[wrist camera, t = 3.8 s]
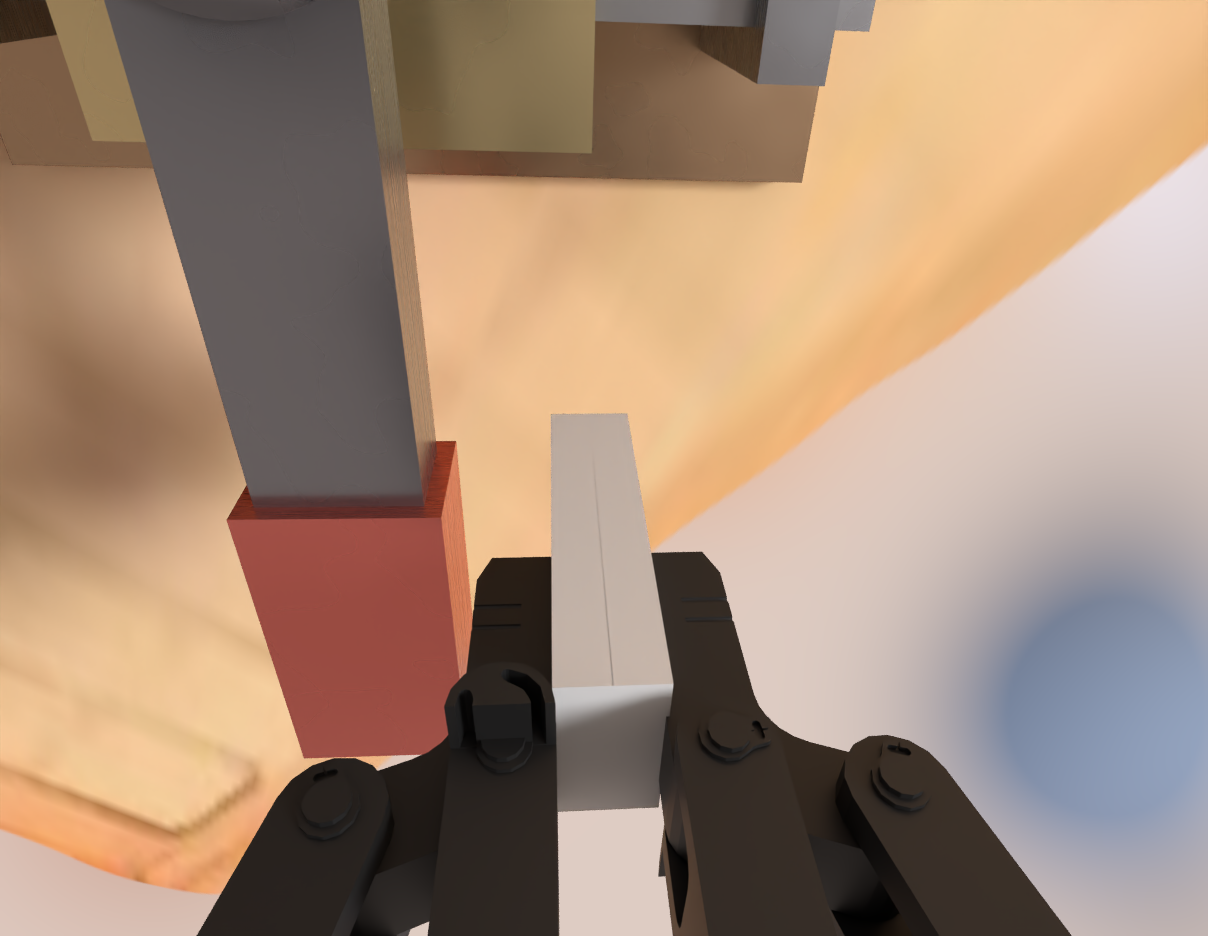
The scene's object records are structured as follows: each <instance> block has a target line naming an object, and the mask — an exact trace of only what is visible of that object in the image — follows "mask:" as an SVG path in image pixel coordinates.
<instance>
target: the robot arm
mask: <svg viewBox="0 0 1208 936" xmlns="http://www.w3.org/2000/svg"><path fill="white" fill-rule="evenodd" d="M551 554H552V557H521V558H492V559H491V560H490V562H489V563H488V565H487V566H486V568H485V569H484V571H483V572H482V574H481V575H480V576H479V578H478V579H477V584H476V593H475V602H474V610H473V619H472V631H471V636H470V645H469V654H468V662H467V671H466V674H464V675H463V676H462V677H461V678H460V679H459V680H458V682H457V683H456V684H455V685H454V686H453V687H452V688H451V689H450V692H449V694H448V697H447V700H446V702H445V705H444V710H445V717H446V723H447V730H448V736H447V737H446V738H445V739H444V740H443V741H442V742H441V743H440V744H439V745H437V746H436V747H434V748H433V749H432V750H430V751H429V752H427V753H425V754H423V755H421V756H418V757H416V758H414V759H412V760H409V761H406V762H403V763H400V764H397V765H394V766H391V767H388V768H385V769H382V770H379V771H377V770H376V769H375V767H374V766H373V765H370V764H368V763H366V762H363V761H361V760H358V759H356V758H334V759H331V760H328V761H325V762H322V763H318V764H315V765H312V766H311V767H309V768H308V769H306V770H305V771H304V772H302V773H301V774H299V775H298V776H296V777H295V778H293V779H292V780H291V781H290V782H289V784H288V785H287V786H286V787H285V789H284V790H283V791H282V792H281V794H280V795H279V796H278V797H277V799H276V800H275V802H274V804H273V805H272V807H271V809H270V811H269V812H268V814H267V816H266V818H265V819H264V821H263V823H262V824H261V826H260V828H259V830H258V831H257V833H256V835H255V836H254V838H253V840H252V842H251V843H250V845H249V847H248V848H247V850H246V852H245V854H244V855H243V857H242V859H241V860H240V862H239V864H238V866H237V867H236V869H235V871H234V872H233V874H232V876H231V878H230V879H229V881H228V883H227V885H226V886H225V888H224V890H223V891H222V893H221V895H220V897H219V899H218V900H217V902H216V903H215V905H214V907H213V909H212V910H211V912H210V914H209V916H208V917H207V919H206V921H205V922H204V924H203V926H202V928H201V929H200V931H199V933H198V935H197V936H408V935H409V932H410V929H412V928H414V927H417V926H419V925H421V924H424V923H426V922H429V929H428V936H559V880H558V812H561V811H562V812H563V811H584V810H607V809H630V808H654V807H659V799H660V794H661V801H662V809H663V816H664V831H663V838H662V847H661V854H660V861H659V876H666V883H667V891H668V899H669V907H670V915H671V923H672V931H673V936H1071V934H1070V933H1069V932H1068V930H1067V929H1066V928H1065V926H1064V925H1063V924H1062V922H1061V921H1060V920H1059V918H1058V917H1057V916H1056V914H1055V913H1054V912H1053V911H1052V909H1051V908H1050V907H1049V905H1048V904H1047V902H1046V901H1045V900H1044V899H1043V897H1042V896H1041V895H1040V893H1039V892H1038V891H1037V889H1036V888H1035V887H1034V885H1033V884H1032V883H1031V881H1030V880H1029V879H1028V877H1027V876H1026V875H1025V873H1024V872H1023V871H1022V869H1021V868H1020V867H1019V865H1018V864H1017V863H1016V862H1015V860H1014V859H1013V857H1012V856H1011V855H1010V854H1009V852H1008V851H1007V850H1006V848H1005V847H1004V846H1003V844H1002V843H1001V842H1000V840H999V839H998V838H997V836H996V835H995V834H994V832H993V831H992V830H991V828H990V827H989V826H988V824H987V823H986V822H985V820H984V819H983V818H982V817H981V815H980V814H979V812H978V811H977V810H976V809H975V807H974V806H973V805H972V803H971V802H970V801H969V799H968V798H967V797H966V795H965V794H964V793H963V791H962V790H961V789H960V787H959V786H958V785H957V783H956V782H955V781H954V779H953V778H952V777H951V776H950V774H949V773H948V771H947V770H946V769H945V768H944V767H943V766H942V765H941V764H940V763H939V762H938V761H937V760H936V759H935V758H934V757H933V756H932V755H931V754H930V753H929V752H928V751H926V750H925V749H923V748H921V747H919V746H918V745H916V744H914V743H912V742H911V741H909V740H905V739H901V738H897V737H894V736H889V735H881V736H868V737H867V738H865V739H863V740H861V741H859V742H857V743H855V744H854V745H853V746H852V748H851V750H850V751H849V752H846V751H842V750H838V749H835V748H831V747H826V746H823V745H819V744H815V743H811V742H808V741H805V740H802V739H800V738H797V737H794V736H792V735H791V734H789V733H787V732H785V731H784V730H782V729H780V728H779V727H778V726H777V725H776V724H774V723H773V722H772V721H771V720H770V719H769V718H768V717H767V716H766V715H765V714H764V712H763V711H762V709H761V708H760V707H759V705H758V703H757V700H756V698H755V696H754V693H753V690H752V686H751V682H750V679H749V675H748V671H747V668H746V664H745V661H744V657H743V653H742V650H741V646H740V643H739V639H738V636H737V632H736V629H735V625H734V622H733V621H732V614H731V610H730V607H729V603H728V602H727V596H726V593H725V589H724V585H723V582H722V578H721V575H720V572H719V571H718V570H717V569H716V567H715V566H714V565H713V564H712V563H711V562H710V560H709V559H708V558H707V557H706V556H705V555H704V554H703V552H670V553H669V552H668V553H651V550H650V544H649V538H648V532H647V526H646V520H645V515H644V509H643V503H642V497H641V491H640V485H639V480H638V474H637V468H636V462H635V456H634V450H633V445H632V439H631V433H630V427H629V421H628V415H627V414H551Z"/></svg>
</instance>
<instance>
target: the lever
mask: <svg viewBox="0 0 1208 936" xmlns="http://www.w3.org/2000/svg"><path fill="white" fill-rule="evenodd" d="M104 2H105V5H106V8H107V12H108V15H109V19H110V22H111V25H112V29H113V32H114V36H115V39H116V42H117V46H118V49H119V53H120V56H121V59H122V63H123V66H124V70H125V73H126V76H127V80H128V83H129V86H130V90H131V93H132V97H133V100H134V103H135V107H136V110H137V114H138V117H139V120H140V124H141V127H142V131H143V134H144V137H145V141H146V144H147V148H148V151H149V154H150V158H151V161H152V164H153V168H154V171H155V175H156V178H157V181H158V185H159V188H160V192H161V195H162V198H163V202H164V205H165V209H166V212H167V215H168V219H169V222H170V226H171V229H172V232H173V236H174V239H175V242H176V246H177V249H178V253H179V256H180V259H181V263H182V266H183V270H184V273H185V276H186V280H187V283H188V287H189V290H190V293H191V297H192V300H193V304H194V307H195V310H196V314H197V317H198V320H199V324H200V327H201V331H202V334H203V337H204V341H205V344H206V348H207V351H208V354H209V358H210V361H211V365H212V368H213V371H214V375H215V378H216V382H217V385H218V388H219V392H220V395H221V398H222V402H223V405H224V409H225V412H226V415H227V419H228V422H229V426H230V429H231V432H232V436H233V439H234V443H235V446H236V449H237V453H238V456H239V460H240V463H241V466H242V470H243V473H244V476H245V480H246V483H247V486H246V487H245V489H244V491H243V493H242V494H241V496H240V498H239V499H238V501H237V503H236V505H235V506H234V508H233V510H232V512H231V513H230V515H229V517H228V518H227V523H228V526H229V529H230V532H231V535H232V538H233V541H234V544H235V547H236V550H237V553H238V556H239V559H240V563H241V566H242V569H243V572H244V575H245V578H246V581H247V584H248V587H249V590H250V593H251V596H252V599H253V603H254V606H255V609H256V612H257V615H258V618H259V621H260V624H261V627H262V630H263V633H264V636H265V639H266V643H267V646H268V649H269V652H270V655H271V658H272V661H273V664H274V667H275V670H276V673H277V676H278V679H279V683H280V686H281V689H282V692H283V695H284V698H285V701H286V704H287V707H288V710H289V713H290V716H291V719H292V723H293V726H294V729H295V732H296V735H297V738H298V741H299V744H300V747H301V750H302V753H303V756H304V758H329V757H360V756H391V755H422V754H425V753H427V752H429V751H430V750H432V749H433V748H434V747H436V746H437V745H439V744H440V743H441V742H442V741H443V740H444V739H445V738H446V737H447V736H448V730H447V723H446V717H445V710H444V705H445V702H446V700H447V697H448V694H449V692H450V689H451V688H452V687H453V686H454V685H455V684H456V683H457V682H458V680H459V679H460V678H461V677H462V676H463V675H464V674H466V671H467V662H468V654H469V645H470V636H471V631H472V608H471V597H470V586H469V575H468V564H467V554H466V543H465V532H464V521H463V510H462V499H461V489H460V478H459V467H458V456H457V445H456V441H436V437H435V428H434V419H433V410H432V401H431V392H430V383H429V374H428V365H427V356H426V347H425V338H424V329H423V320H422V311H421V302H420V292H419V283H418V274H417V265H416V256H415V247H414V238H413V229H412V220H411V211H410V202H409V193H408V184H407V175H406V166H405V157H404V148H403V139H402V130H401V121H400V112H399V103H398V94H397V85H396V76H395V67H394V58H393V49H392V40H391V31H390V22H389V13H388V4H387V0H104Z"/></svg>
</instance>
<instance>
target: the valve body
mask: <svg viewBox="0 0 1208 936" xmlns="http://www.w3.org/2000/svg"><path fill="white" fill-rule="evenodd" d="M387 4H388V13H389V22H390V31H391V40H392V49H393V58H394V67H395V76H396V85H397V94H398V103H399V112H400V121H401V130H402V139H403V148H404V157H405V166H406V174H447V175H491V176H535V177H578V178H622V179H666V180H709V181H753V182H797V183H802V178H803V173H804V167H805V162H806V156H807V151H808V145H809V139H810V134H811V128H812V123H813V117H814V112H815V106H816V101H817V95H818V90H819V86H825V81H826V75H827V70H828V64H829V59H830V53H831V48H832V42H833V37H834V32H835V30H842V31H868V32H869V29H870V25H871V20H872V15H873V10H874V5H875V0H387ZM0 134H1V137H2V140H3V142H4V145H5V147H6V150H7V152H8V155H9V157H10V160H11V162H12V165H55V166H98V167H142V168H153V164H152V161H151V158H150V154H149V151H148V148H147V144H146V141H145V137H144V134H143V131H142V127H141V124H140V120H139V117H138V114H137V110H136V107H135V103H134V100H133V97H132V93H131V90H130V86H129V83H128V80H127V76H126V73H125V70H124V66H123V63H122V59H121V56H120V53H119V49H118V46H117V42H116V39H115V36H114V32H113V29H112V25H111V22H110V19H109V15H108V12H107V8H106V5H105V2H104V0H0Z"/></svg>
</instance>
